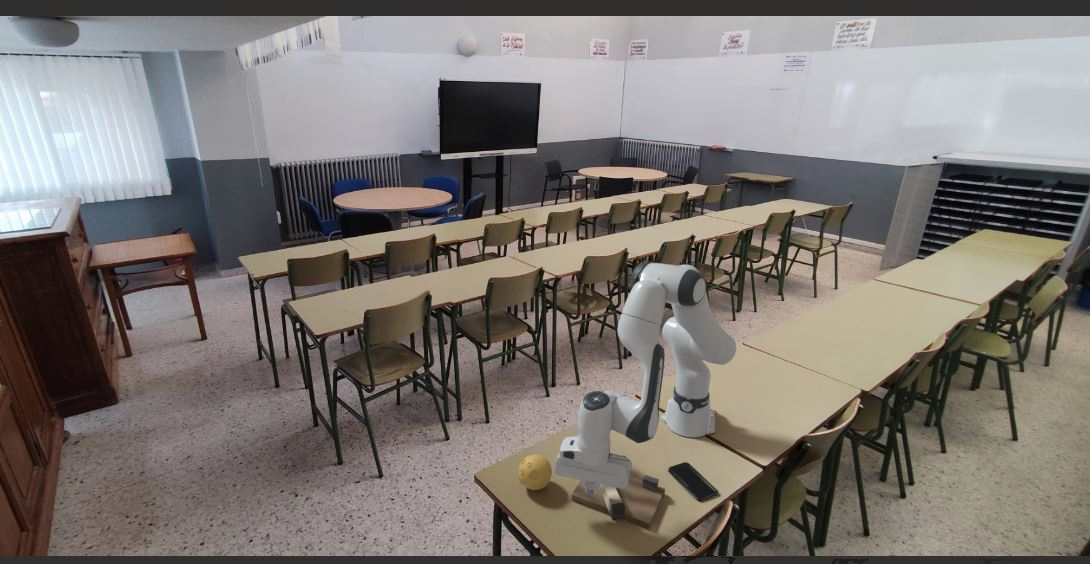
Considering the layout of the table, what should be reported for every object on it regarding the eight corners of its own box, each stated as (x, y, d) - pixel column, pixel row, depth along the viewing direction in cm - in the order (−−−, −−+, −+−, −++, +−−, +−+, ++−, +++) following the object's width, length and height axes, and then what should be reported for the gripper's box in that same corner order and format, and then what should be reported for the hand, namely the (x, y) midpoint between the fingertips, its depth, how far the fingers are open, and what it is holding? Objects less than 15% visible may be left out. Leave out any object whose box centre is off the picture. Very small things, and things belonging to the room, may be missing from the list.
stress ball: (545, 476, 160) (522, 454, 160) (563, 465, 154) (538, 442, 154) (530, 502, 152) (505, 478, 152) (548, 491, 146) (522, 466, 146)
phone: (687, 461, 165) (720, 492, 152) (686, 464, 165) (719, 495, 152) (666, 468, 162) (698, 500, 149) (666, 471, 162) (698, 503, 149)
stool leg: (591, 473, 157) (592, 461, 156) (601, 471, 158) (602, 460, 156) (612, 520, 140) (613, 508, 138) (624, 519, 140) (625, 506, 139)
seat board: (591, 468, 162) (592, 455, 161) (664, 494, 152) (666, 480, 151) (571, 499, 150) (571, 485, 148) (649, 529, 140) (650, 514, 138)
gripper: (633, 450, 139) (629, 492, 144) (559, 436, 144) (558, 477, 149) (630, 465, 133) (627, 508, 138) (553, 450, 139) (552, 492, 143)
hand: (590, 492), depth 144 cm, fingers closed
